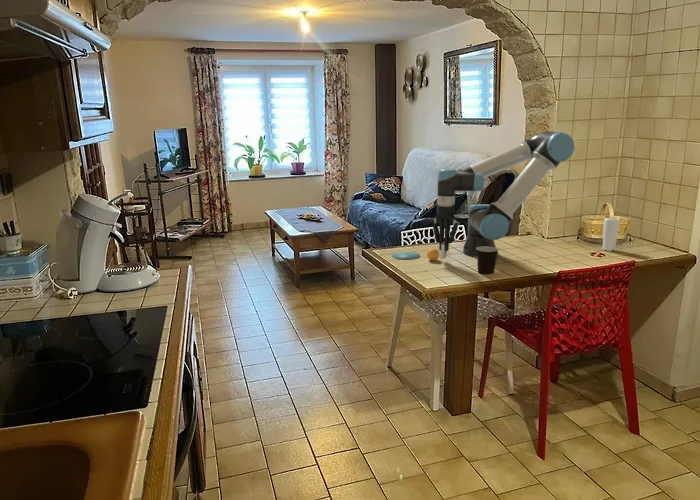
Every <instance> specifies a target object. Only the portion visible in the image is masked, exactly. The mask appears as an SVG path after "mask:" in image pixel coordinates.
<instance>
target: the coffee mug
mask: <svg viewBox="0 0 700 500" xmlns="http://www.w3.org/2000/svg"><path fill="white" fill-rule="evenodd" d="M476 250H477V257H476V262H477V272H478V274H481V275H484V274H485V275H486V274H487V275H488V276H489V274H491V275H494V274H493V273H495V268H496V264H497V257H498V254H499V253H498V252H499V249H498V248H497V247H496V248H494V247H487V246H483V247H477V248H476ZM487 275H486V276H487Z"/></svg>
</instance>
